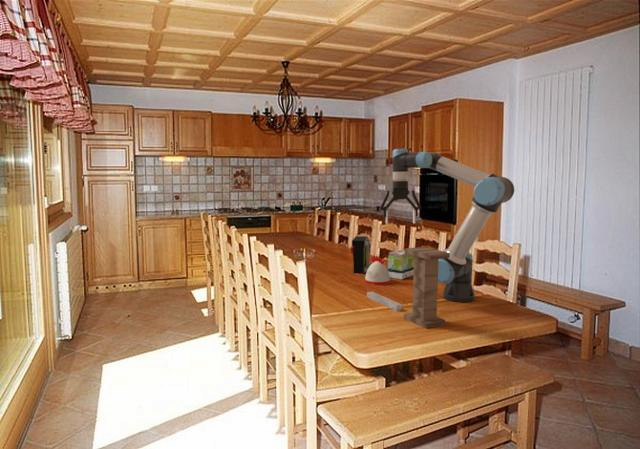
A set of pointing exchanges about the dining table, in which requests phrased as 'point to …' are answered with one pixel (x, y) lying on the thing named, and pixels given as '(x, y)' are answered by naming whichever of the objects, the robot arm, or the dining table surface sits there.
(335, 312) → the dining table surface
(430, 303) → the walnut pedestal
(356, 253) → the electrical component
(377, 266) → the kitchen timer
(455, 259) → the robot arm
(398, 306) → the aluminium bar
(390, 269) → the tea box
